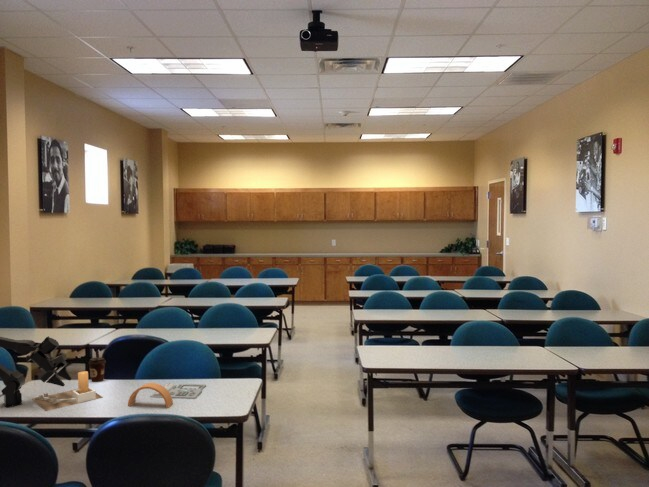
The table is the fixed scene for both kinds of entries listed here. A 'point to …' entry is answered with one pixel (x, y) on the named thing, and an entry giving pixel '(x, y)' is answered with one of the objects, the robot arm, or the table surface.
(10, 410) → the table surface
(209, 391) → the table surface
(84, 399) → the end holder
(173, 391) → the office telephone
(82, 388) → the tan cylinder
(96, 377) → the coffee cup
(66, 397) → the cable board
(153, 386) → the arch
